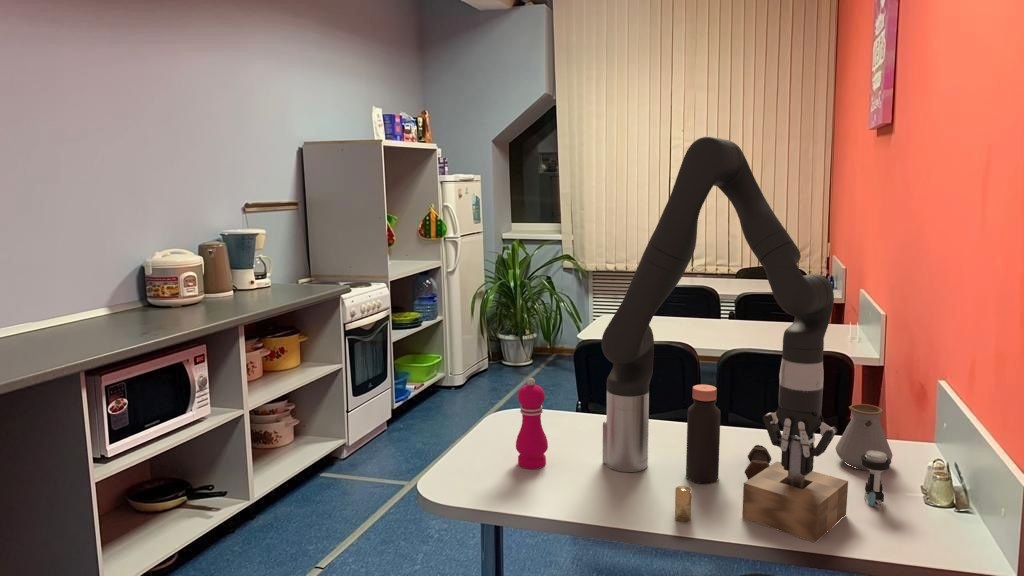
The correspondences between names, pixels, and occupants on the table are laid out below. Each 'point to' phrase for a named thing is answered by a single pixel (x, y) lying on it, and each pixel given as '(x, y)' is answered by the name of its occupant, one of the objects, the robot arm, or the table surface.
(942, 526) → the table surface
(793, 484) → the long pin
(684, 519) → the short pin
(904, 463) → the table surface
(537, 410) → the pepper mill
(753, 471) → the bolt
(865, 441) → the coffee pot
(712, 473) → the bottle
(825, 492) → the hole block
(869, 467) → the push button
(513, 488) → the table surface
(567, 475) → the table surface
